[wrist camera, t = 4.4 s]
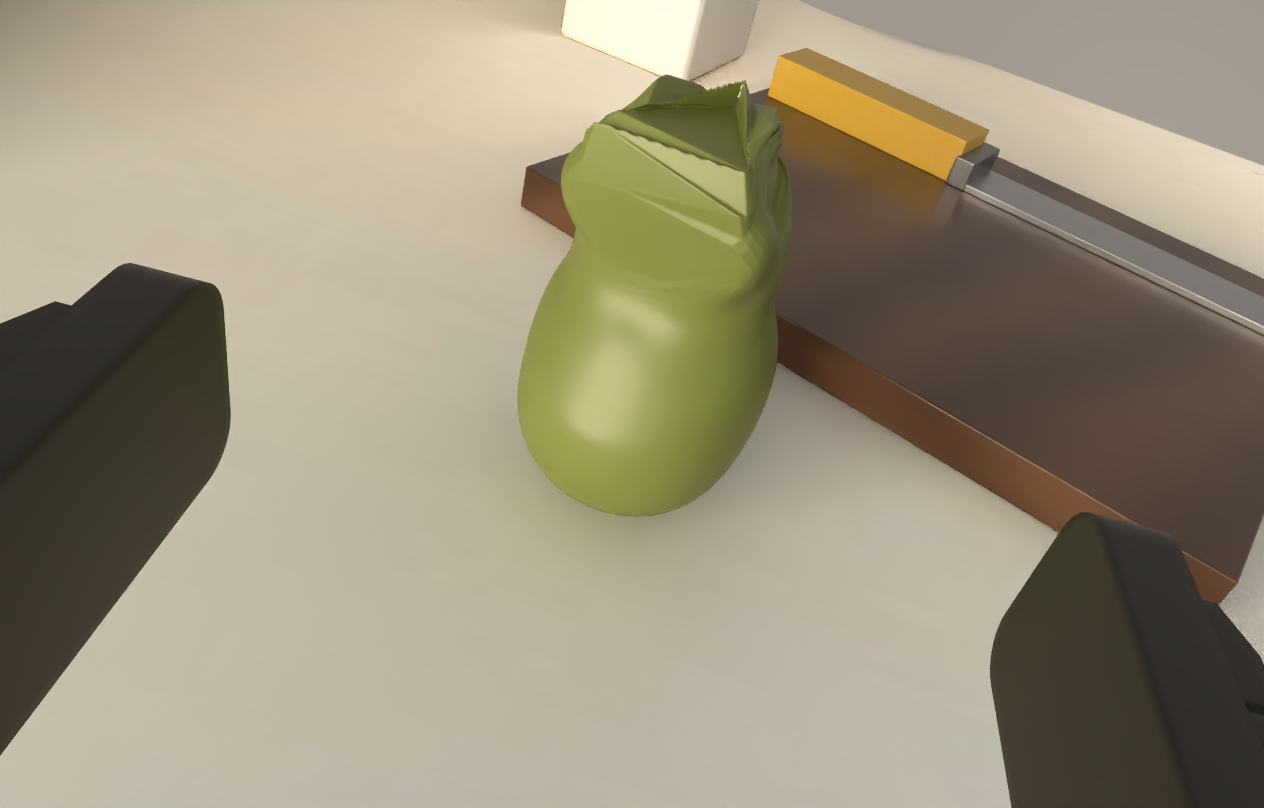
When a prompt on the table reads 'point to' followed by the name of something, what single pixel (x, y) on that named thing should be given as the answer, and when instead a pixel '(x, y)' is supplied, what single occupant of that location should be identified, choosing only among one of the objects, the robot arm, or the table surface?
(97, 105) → the table surface
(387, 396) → the table surface
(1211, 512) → the cutting board
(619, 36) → the medicine bottle
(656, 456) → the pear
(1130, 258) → the knife
